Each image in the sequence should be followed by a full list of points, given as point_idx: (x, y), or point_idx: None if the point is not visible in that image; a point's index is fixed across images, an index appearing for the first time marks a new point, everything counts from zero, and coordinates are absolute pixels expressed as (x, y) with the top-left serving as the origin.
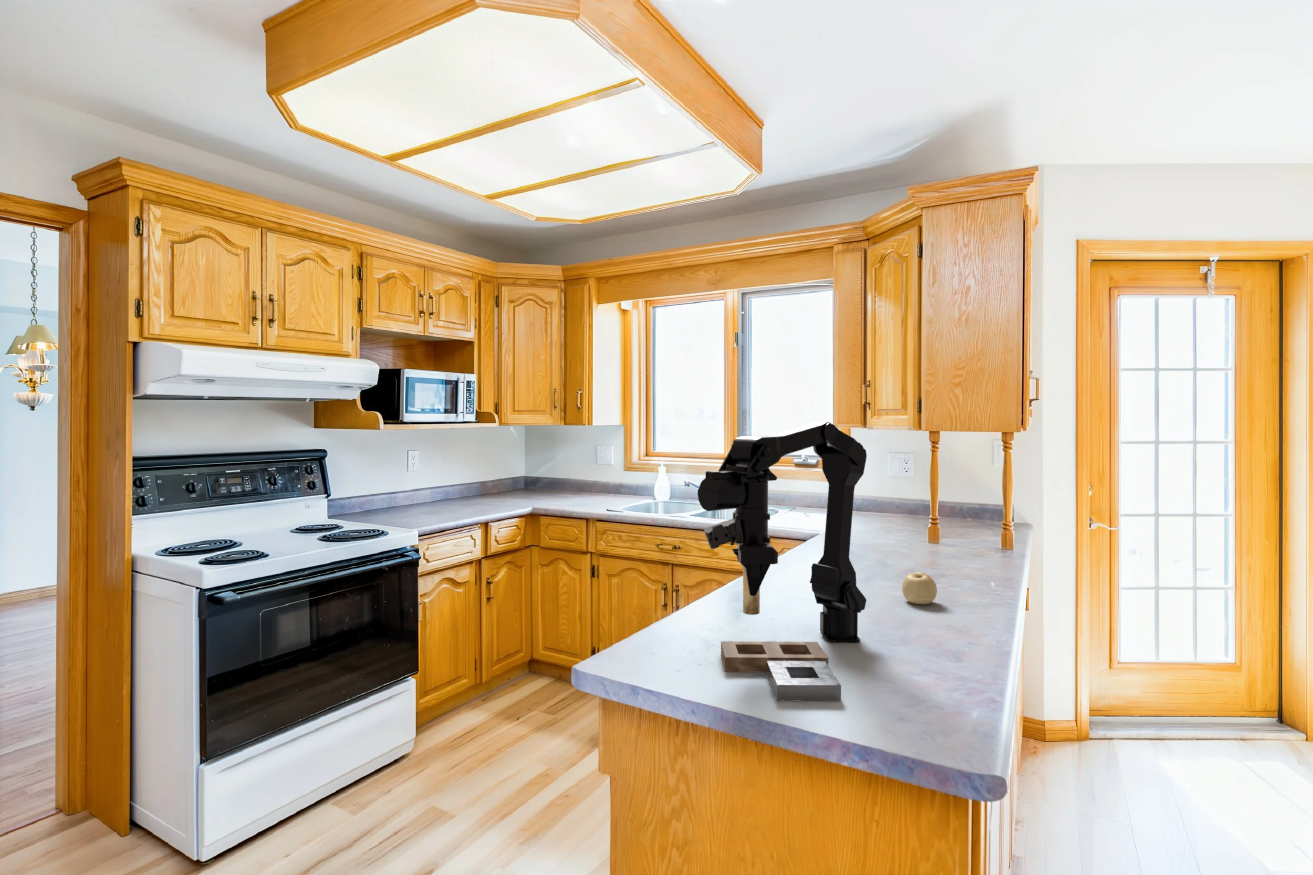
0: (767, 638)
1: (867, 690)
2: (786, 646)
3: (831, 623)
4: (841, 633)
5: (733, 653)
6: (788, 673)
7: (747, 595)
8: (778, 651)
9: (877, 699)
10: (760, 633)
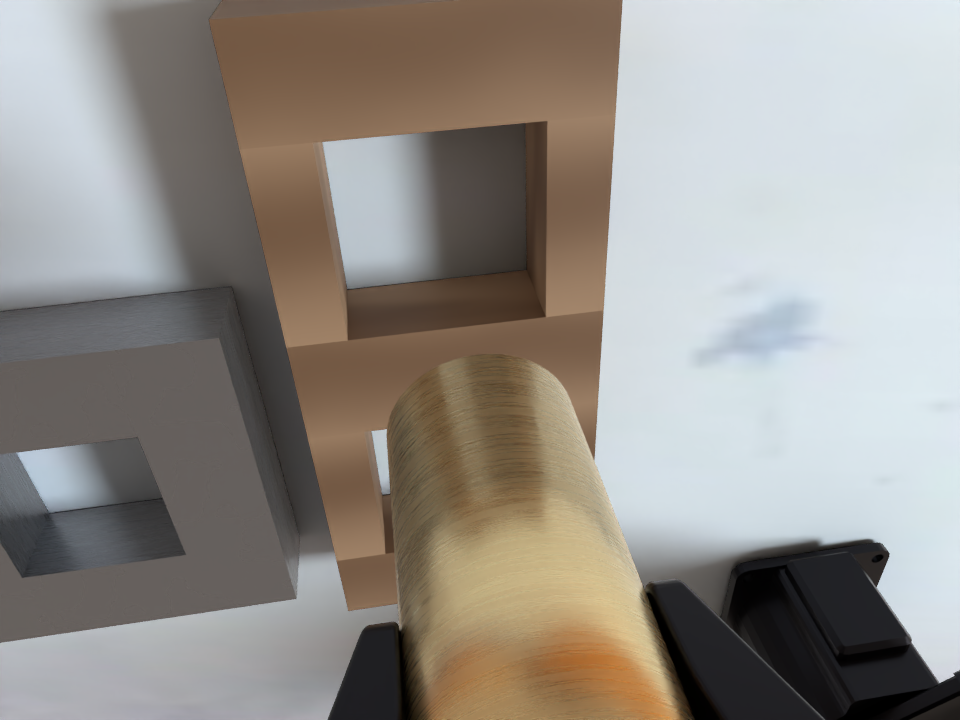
0: (856, 308)
1: (168, 655)
2: None
3: (799, 643)
4: (749, 635)
5: (320, 100)
6: (22, 450)
7: (416, 578)
8: None
9: (81, 677)
10: (954, 271)
